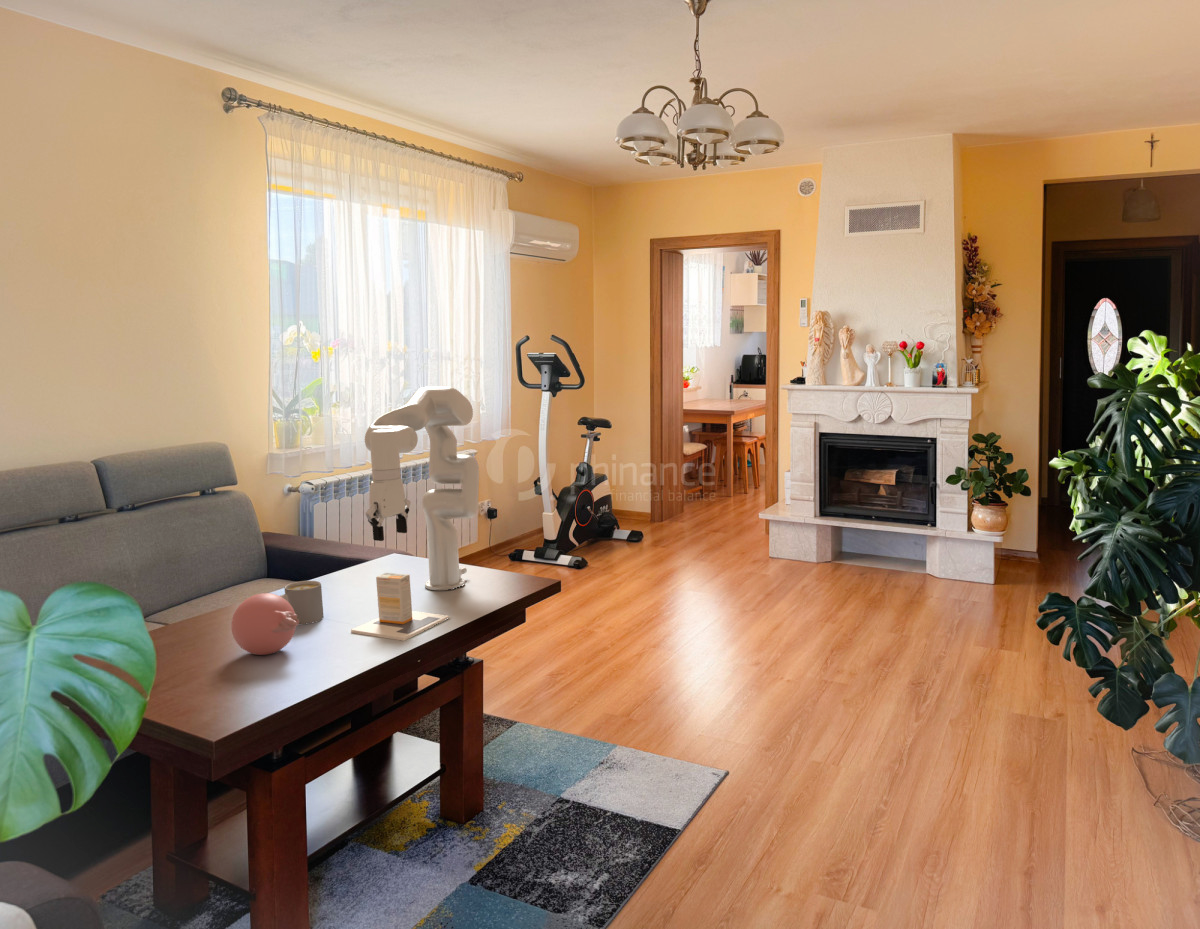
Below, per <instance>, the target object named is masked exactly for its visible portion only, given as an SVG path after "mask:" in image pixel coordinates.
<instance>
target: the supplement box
mask: <svg viewBox="0 0 1200 929" xmlns="http://www.w3.org/2000/svg"><path fill="white" fill-rule="evenodd" d="M410 575H411V574H408V573H407V574H404V573H392V572H385V573H382V574H379V575H377V576H376V577H375V578H376V579H375V580H376V592H377V605H378V606H377V607H378V618H379V622H387V623H396V624H405V623H407V622H409V621H411V620H412V611H413V607H412V592H411V577H410Z"/></svg>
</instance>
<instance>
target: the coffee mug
mask: <svg viewBox="0 0 1200 929" xmlns="http://www.w3.org/2000/svg"><path fill="white" fill-rule="evenodd" d="M279 596H280V597H282V598H284V599H285V600H286V601H288V602H289V603H290V605H291V606H292V608H293V609H294V612H295V614H296V615H297V619H299V624H302V625H307V624H306V623H310V624H313V623H312V622H314V623H316V621H317V622H319V620H320V621H321V619H322V618H323V619H324V605H323V589H322V582H320V581H317V580H301V581H295V582H291V583H288V584H286V585H285V586H284V594H281V595H279ZM323 619H322V620H323Z"/></svg>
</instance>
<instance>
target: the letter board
mask: <svg viewBox="0 0 1200 929" xmlns="http://www.w3.org/2000/svg"><path fill="white" fill-rule="evenodd" d="M447 618H449V619H450V615H446V614H437V613H432V612H431V613H430V612H422V611H418V610H417V611H416V610H412V620H411V621H409V622H407V623H405V624H396V623H387V622H379V617H377V618H374V619H372V620H370V621H368V622H365V623H363V624H361V625H358V626H356V627H354V628H352V629H350V633H351V634H359V635H366V636H371V637H376V638H377V637H378V638H384V639H390V640H396V641H404V642H405V641H407V640H409V639H411V638H412V637H415V636H416V635H419V634H421V633H423V632H424V630H425V631H427V630H429V629H431V628H433V627H435V626H437V625H439V624H441V623H443V622H442V621H444V620H445V619H447ZM440 622H441V623H440ZM444 622H445V621H444ZM438 623H439V624H438ZM436 624H437V625H436ZM434 625H435V626H434ZM430 627H431V628H430ZM428 628H429V629H428Z"/></svg>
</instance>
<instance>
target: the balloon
mask: <svg viewBox="0 0 1200 929" xmlns="http://www.w3.org/2000/svg"><path fill="white" fill-rule="evenodd" d="M298 624H299V619H297V615H296V614H295V612H294V609H293V608H292V606H291V605H290V603H289V602H288V601H286V600H285V599H284V598H282V597H280V595H278V594H275V593H270V592H269V593H267V592H266V593H263V592H262V593H257V594H254V595H251V596H250V597H248V598H246V599H244V600H243V601H241V603H240V604H239V605H238V606H237V607H236V610H235V611H234V612H233V615H232V619H231V624H230V625H231V634H232V636H233V639H234V641H235V642H236V644H237V645H238V646H239V647H240V648H241V649H242V650H244V651H245V652H247V653H251V654H253V655H258V656H259V655H260V656H265V655H270V654H271V655H272V654H275V653H277V652H278V651H281V650H282V649H283V648H285V647H286V646H287V645H288V644H289V643H290V642H291V640H292V639H293V637H294V634H295V632H296V629H297V626H298Z"/></svg>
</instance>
